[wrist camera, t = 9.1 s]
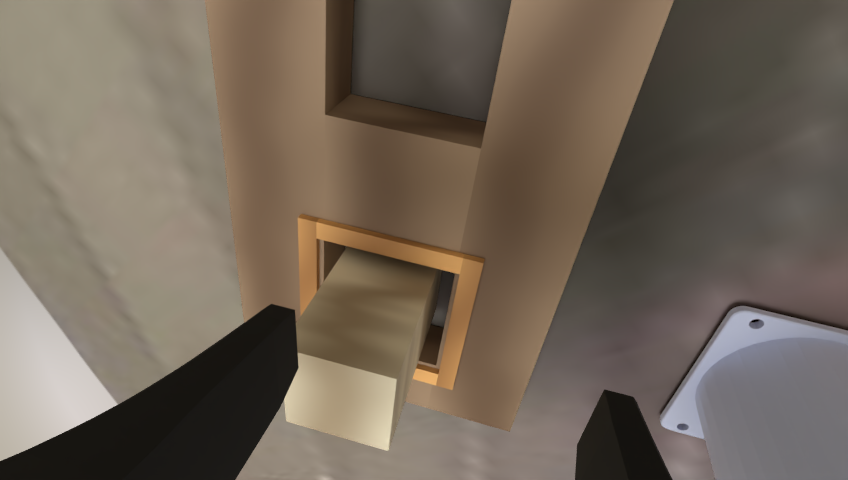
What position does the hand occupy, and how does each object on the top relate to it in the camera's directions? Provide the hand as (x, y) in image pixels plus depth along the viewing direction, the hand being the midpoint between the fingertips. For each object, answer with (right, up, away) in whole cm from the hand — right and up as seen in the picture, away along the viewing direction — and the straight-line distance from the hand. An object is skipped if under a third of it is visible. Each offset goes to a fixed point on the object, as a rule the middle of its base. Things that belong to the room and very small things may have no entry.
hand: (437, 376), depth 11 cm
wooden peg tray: (-1, +6, +9) cm, 11 cm away
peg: (-1, +2, +12) cm, 12 cm away
